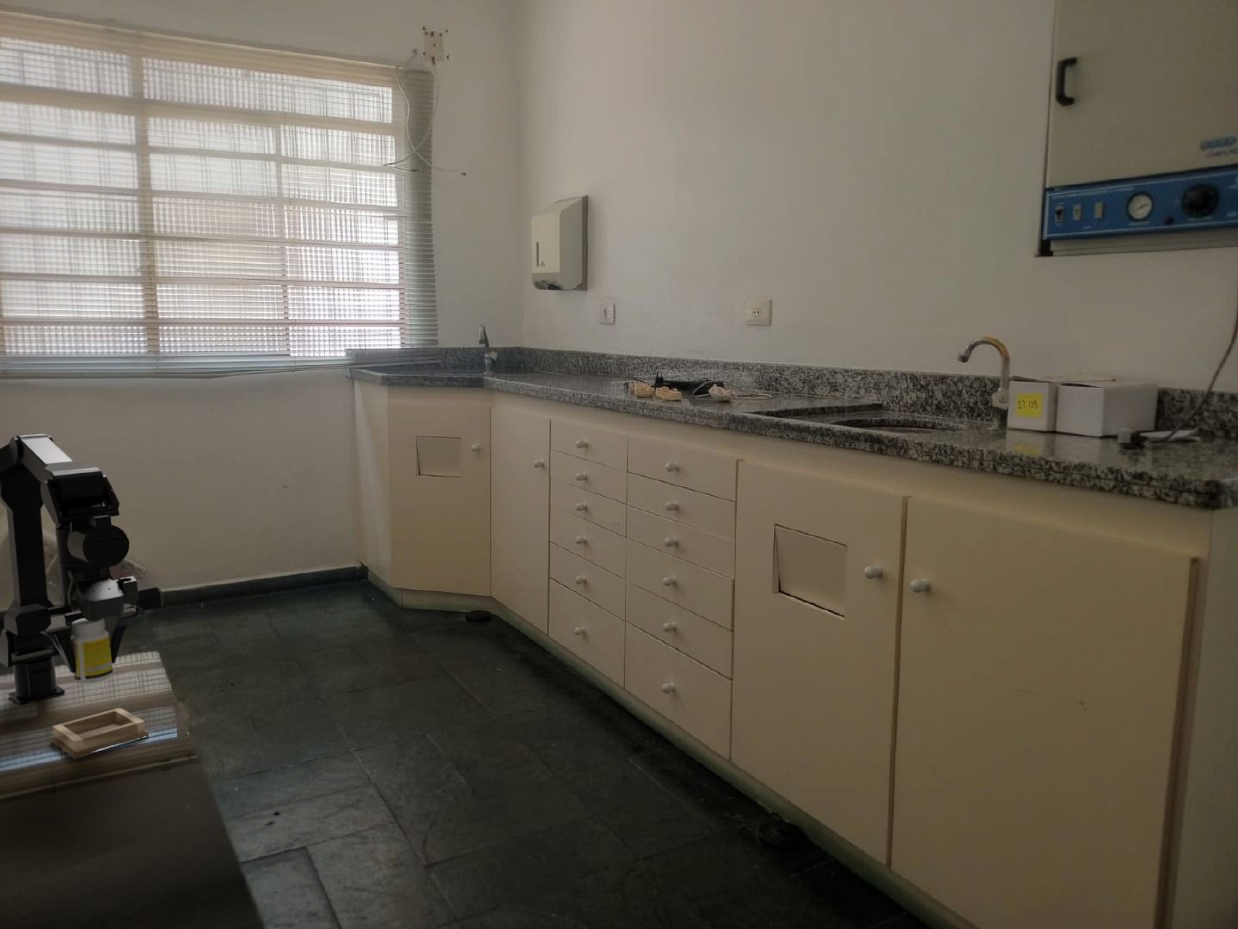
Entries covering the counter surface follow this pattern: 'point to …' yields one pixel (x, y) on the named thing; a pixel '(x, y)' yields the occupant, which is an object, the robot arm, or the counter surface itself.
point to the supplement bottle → (91, 651)
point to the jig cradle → (97, 732)
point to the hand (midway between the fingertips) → (92, 667)
